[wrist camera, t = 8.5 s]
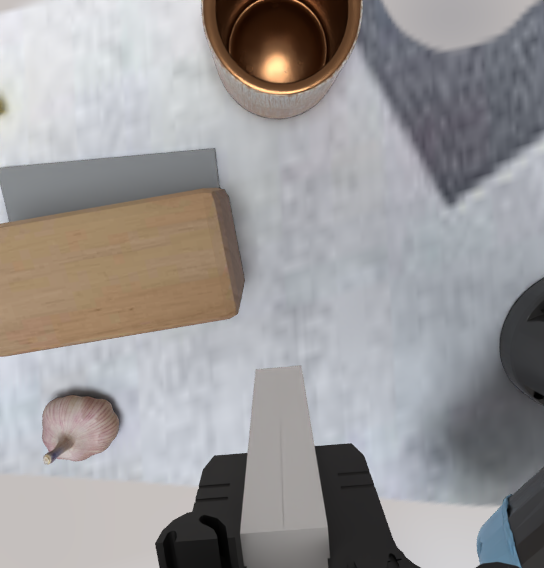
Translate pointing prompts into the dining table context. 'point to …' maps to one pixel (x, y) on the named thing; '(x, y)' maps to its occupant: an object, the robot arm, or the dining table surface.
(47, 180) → the mat
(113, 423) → the garlic bulb
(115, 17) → the dining table surface
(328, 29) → the planter
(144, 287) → the wooden block
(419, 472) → the dining table surface
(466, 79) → the dining table surface
